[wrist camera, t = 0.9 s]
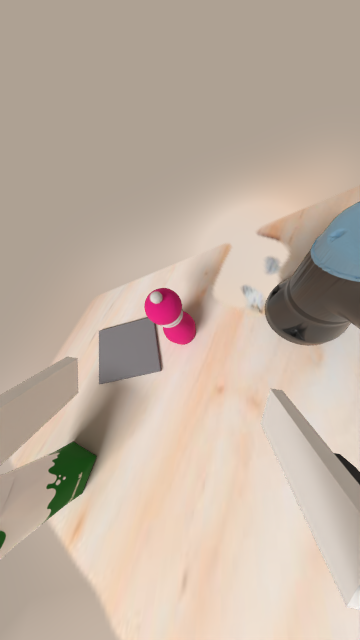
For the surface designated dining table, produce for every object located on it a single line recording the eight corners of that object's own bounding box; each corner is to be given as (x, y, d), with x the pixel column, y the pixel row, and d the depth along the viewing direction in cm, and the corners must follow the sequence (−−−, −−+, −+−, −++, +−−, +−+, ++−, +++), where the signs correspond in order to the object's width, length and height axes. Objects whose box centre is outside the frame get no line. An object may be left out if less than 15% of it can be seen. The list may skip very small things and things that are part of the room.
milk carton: (83, 500, 34) (-75, 641, 16) (53, 477, 37) (-112, 574, 19) (102, 453, 36) (-18, 528, 18) (72, 434, 39) (-59, 483, 21)
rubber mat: (153, 317, 45) (152, 316, 44) (161, 370, 39) (160, 370, 39) (100, 331, 47) (99, 330, 46) (101, 383, 42) (99, 384, 41)
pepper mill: (166, 324, 43) (126, 283, 25) (192, 314, 42) (171, 265, 24) (173, 350, 40) (135, 326, 22) (201, 340, 40) (186, 307, 21)
